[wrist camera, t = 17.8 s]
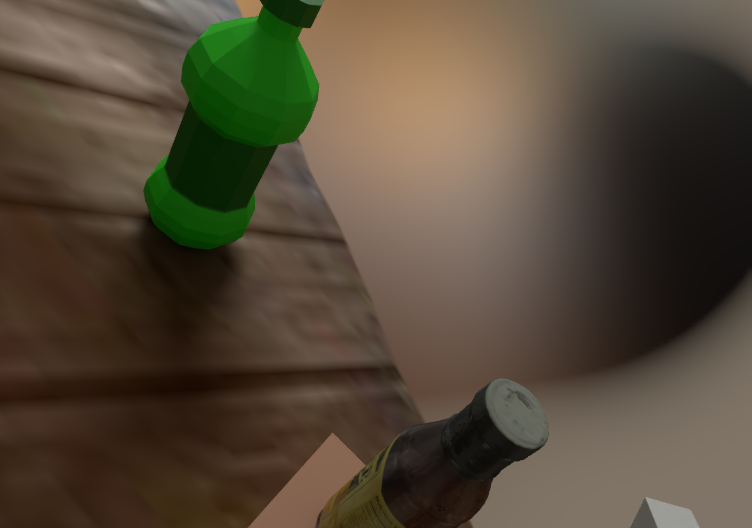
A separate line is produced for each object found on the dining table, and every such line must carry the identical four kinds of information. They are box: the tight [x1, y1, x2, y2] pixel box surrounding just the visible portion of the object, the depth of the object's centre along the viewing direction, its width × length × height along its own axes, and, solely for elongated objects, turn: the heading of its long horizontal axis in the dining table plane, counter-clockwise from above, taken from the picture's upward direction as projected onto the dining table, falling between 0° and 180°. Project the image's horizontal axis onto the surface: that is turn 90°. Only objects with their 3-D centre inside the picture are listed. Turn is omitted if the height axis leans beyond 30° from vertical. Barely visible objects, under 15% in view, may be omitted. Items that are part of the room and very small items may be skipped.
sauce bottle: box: [315, 379, 549, 528], centre depth 36 cm, size 7×6×20 cm
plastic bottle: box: [143, 0, 324, 250], centre depth 48 cm, size 10×10×25 cm
